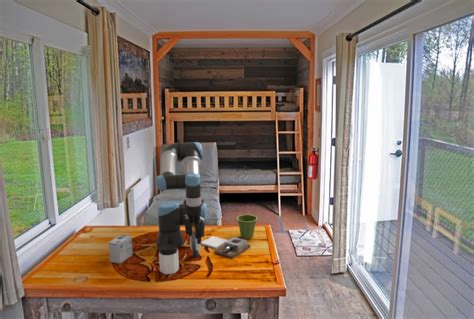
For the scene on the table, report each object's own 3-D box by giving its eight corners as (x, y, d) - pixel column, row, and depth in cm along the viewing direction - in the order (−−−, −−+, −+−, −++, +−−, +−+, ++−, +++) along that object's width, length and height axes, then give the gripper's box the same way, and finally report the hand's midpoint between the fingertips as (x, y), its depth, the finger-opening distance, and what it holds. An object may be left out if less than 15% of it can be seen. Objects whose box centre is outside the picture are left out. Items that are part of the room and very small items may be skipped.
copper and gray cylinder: (191, 256, 195) (190, 226, 192) (195, 254, 197) (194, 224, 194) (196, 257, 193) (194, 227, 190) (199, 255, 196) (198, 226, 193)
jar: (160, 275, 175) (158, 251, 173) (159, 267, 183) (158, 244, 181) (179, 273, 177) (178, 249, 175) (178, 265, 185) (177, 242, 183)
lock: (214, 252, 198) (214, 245, 198) (232, 242, 211) (232, 235, 210) (233, 258, 192) (232, 251, 191) (250, 247, 204) (250, 240, 204)
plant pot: (234, 239, 215) (234, 220, 213) (239, 232, 227) (239, 214, 225) (255, 241, 213) (255, 222, 211) (258, 233, 224) (258, 215, 222)
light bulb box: (122, 253, 200) (120, 233, 198) (133, 255, 198) (131, 235, 196) (109, 262, 190) (107, 241, 188) (120, 263, 188) (119, 243, 186)
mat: (200, 244, 210) (200, 242, 209) (212, 237, 218) (212, 236, 218) (216, 248, 203) (215, 247, 203) (228, 241, 212) (228, 240, 212)
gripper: (176, 204, 192) (178, 247, 196) (201, 209, 183) (202, 254, 187) (186, 200, 198) (188, 242, 202) (210, 205, 189) (212, 249, 193)
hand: (195, 248), depth 195 cm, fingers closed on copper and gray cylinder, 3 cm apart
